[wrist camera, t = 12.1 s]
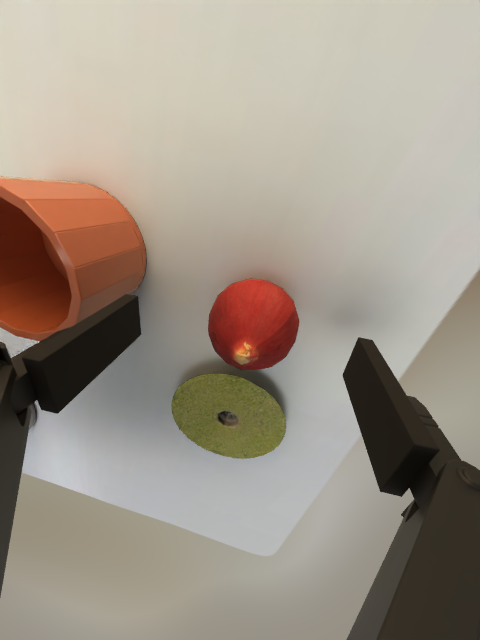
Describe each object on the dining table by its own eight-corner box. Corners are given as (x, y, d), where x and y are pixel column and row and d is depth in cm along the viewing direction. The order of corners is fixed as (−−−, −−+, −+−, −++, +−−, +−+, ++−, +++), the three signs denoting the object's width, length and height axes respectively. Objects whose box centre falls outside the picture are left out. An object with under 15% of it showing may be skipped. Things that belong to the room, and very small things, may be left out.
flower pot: (56, 289, 22) (-33, 324, 16) (27, 174, 18) (-110, 162, 12) (149, 308, 21) (92, 353, 15) (142, 191, 17) (58, 188, 11)
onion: (273, 345, 21) (264, 421, 14) (213, 314, 20) (172, 376, 13) (311, 288, 18) (325, 348, 11) (242, 252, 18) (210, 289, 11)
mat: (250, 456, 28) (247, 473, 26) (164, 410, 27) (156, 424, 25) (310, 400, 23) (311, 417, 21) (205, 340, 22) (198, 352, 20)
